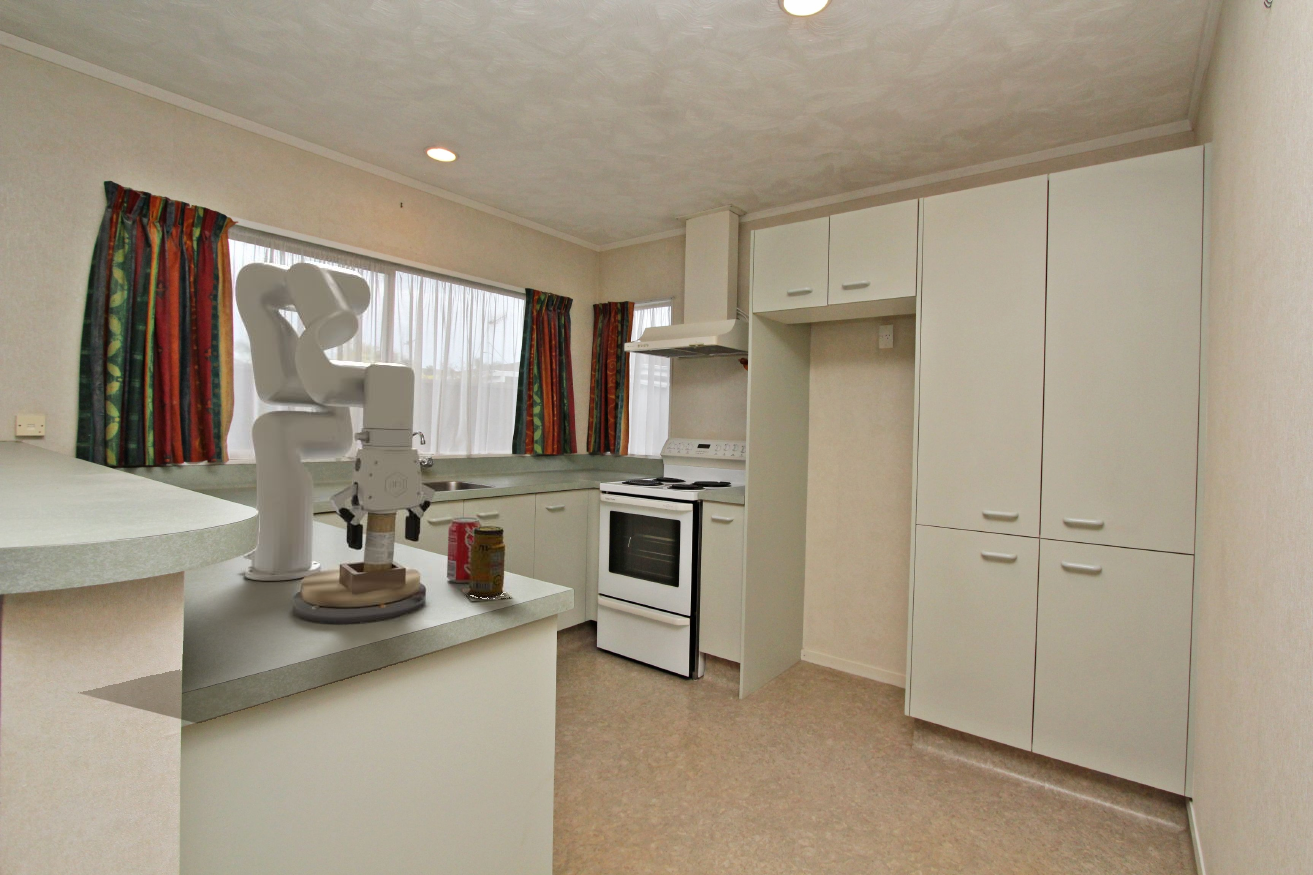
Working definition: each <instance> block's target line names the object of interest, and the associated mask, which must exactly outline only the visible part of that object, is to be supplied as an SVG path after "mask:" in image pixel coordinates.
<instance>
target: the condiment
mask: <svg viewBox="0 0 1313 875" xmlns="http://www.w3.org/2000/svg"><path fill="white" fill-rule="evenodd" d="M504 532H505V531H504V529H503V528H502V527H500V526H494V525H485V526H483V525H481V527H477V528H475V529H474V537H473V539H474V541H473V543H472V545H471V562H470V582H469V587H466V588H465V587H464V588H461V590H462V592H463V593H464V595H466V597H467V598H468V599H469V600H470V601H471V602H482V601H485V600H486V601H487V600H488V601H497V600H502V599H501V598H506V599H513V597H512V595H511V594H510V593H509V592H508V591H506V590H505V588H504V584H505V583H504V582H505V581H504V580H505V558H506V557H505V556H506V544H505V542H504ZM503 592H506V593H503ZM502 593H503V594H502ZM501 594H502V595H504V596H498V595H501ZM470 595H474V596H476V597H478V598H475V597H472V596H470ZM496 596H497V597H496ZM480 597H482V598H487V597H488V598H489V599H488V598H487V599H482V598H480ZM509 597H510V598H509ZM493 598H495V599H493ZM486 601H485V602H486ZM488 601H487V602H488Z"/></svg>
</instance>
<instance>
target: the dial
mask: <svg viewBox="0 0 1313 875" xmlns="http://www.w3.org/2000/svg"><path fill="white" fill-rule="evenodd" d="M363 570H364V560H363V561H355V562H346V563H340V564H339V567H335V568H330V569H329V568H328V569H325V570H320V571H319V572H317V573H314V574H311V575H309V576H307V577H303V579H301V581H300V591H301V599H302V600H303V601H305V602H307V603H310V604H314V605H319V606H327V607H361V606H371V605H378V604H384V603H389V602H394V601H398V600H401V599H404V598H407V597H409V596H412V595H414V594H415V593H417V592H418V591H419V589H420V583H421V573H420V572H419V571H418V570H416V569H414V568H411V567H408V566H407V567H406V566H403V565H401V564H400V563H398V562H397V561H395V560H393V563H392V569H385V570H376V571H368V572H363Z"/></svg>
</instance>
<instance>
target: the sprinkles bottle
mask: <svg viewBox="0 0 1313 875" xmlns="http://www.w3.org/2000/svg"><path fill="white" fill-rule="evenodd" d="M397 513H398V510H392V511H381V512H369V511H368V512H367V513H366V515H367V517H366V518H367V519H366V529H365V530H366V531H365V542H364V549H363V550H364V551H363V552H364V553H363V561H364V570H363V572H368V571H376V570H385V569H392V563H393V561H394V553H395V540H396V518H397V517H396V516H397Z"/></svg>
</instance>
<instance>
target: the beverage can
mask: <svg viewBox="0 0 1313 875" xmlns="http://www.w3.org/2000/svg"><path fill="white" fill-rule="evenodd" d="M481 526H482V524H481V523H480V519H479V518H477V517H476V518H475V517H467V516H466V517H465V516H464V517H463V516H461V517H455V518H452V521H451V522H450V524H449V526H448V533H447V534H448V537H447V564H446V565H447V569H446V578H447V579H448V580H450V581H451V582H453V583H458V584H459V583H460V584H467V583H470V562H471V545H472V543H473V541H474V539H473V537H474V529H475V528H477V527H481Z"/></svg>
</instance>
